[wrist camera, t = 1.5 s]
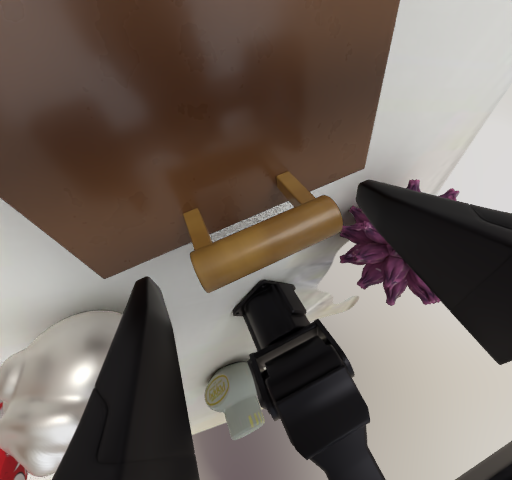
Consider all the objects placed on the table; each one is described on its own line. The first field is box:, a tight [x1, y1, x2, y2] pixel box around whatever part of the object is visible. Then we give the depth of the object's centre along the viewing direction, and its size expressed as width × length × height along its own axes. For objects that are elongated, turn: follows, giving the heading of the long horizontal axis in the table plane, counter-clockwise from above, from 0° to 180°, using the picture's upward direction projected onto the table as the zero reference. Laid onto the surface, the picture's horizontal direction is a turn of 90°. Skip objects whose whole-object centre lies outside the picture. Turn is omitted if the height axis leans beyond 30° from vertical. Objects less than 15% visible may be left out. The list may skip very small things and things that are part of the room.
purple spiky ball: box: [340, 179, 459, 306], centre depth 23 cm, size 12×12×12 cm
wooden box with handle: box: [0, 0, 400, 293], centre depth 7 cm, size 11×14×5 cm
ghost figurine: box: [0, 310, 123, 477], centre depth 18 cm, size 9×9×10 cm
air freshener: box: [205, 362, 265, 440], centre depth 42 cm, size 11×8×10 cm
